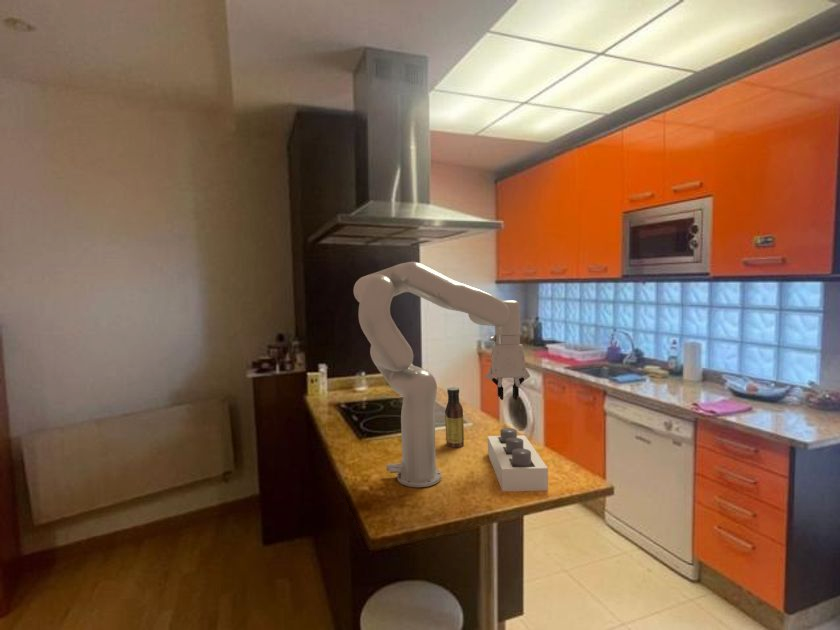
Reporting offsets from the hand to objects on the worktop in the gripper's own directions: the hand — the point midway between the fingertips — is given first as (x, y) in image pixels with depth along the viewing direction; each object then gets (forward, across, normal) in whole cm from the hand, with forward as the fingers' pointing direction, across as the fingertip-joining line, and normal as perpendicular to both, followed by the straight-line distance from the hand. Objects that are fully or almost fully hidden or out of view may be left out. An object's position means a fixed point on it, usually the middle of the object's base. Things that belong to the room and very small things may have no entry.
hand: (508, 398), depth 135 cm
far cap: (+16, 0, 0) cm, 16 cm away
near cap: (+16, 0, -18) cm, 24 cm away
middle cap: (+16, 0, -9) cm, 18 cm away
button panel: (+19, 0, -9) cm, 21 cm away
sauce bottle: (+19, -16, +13) cm, 28 cm away
